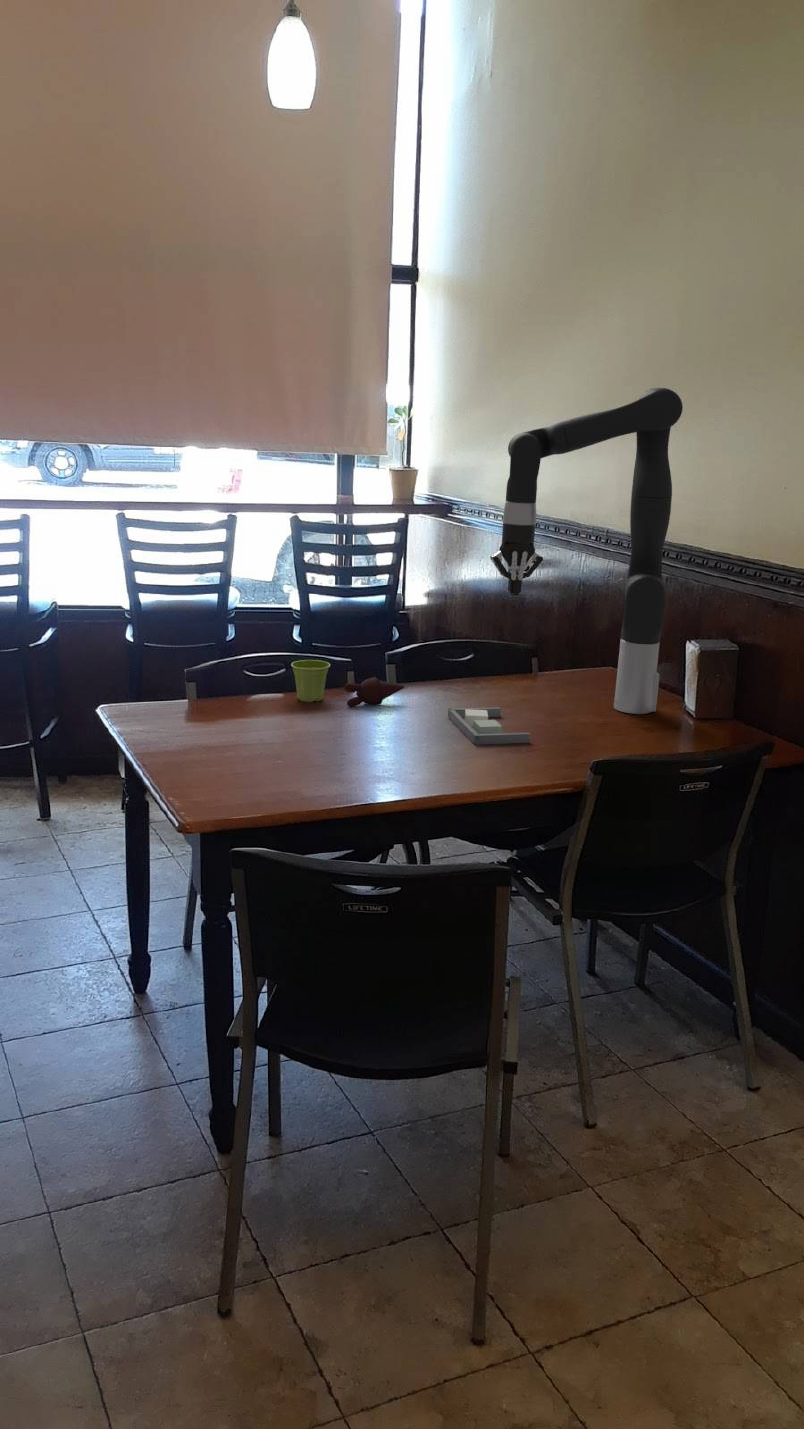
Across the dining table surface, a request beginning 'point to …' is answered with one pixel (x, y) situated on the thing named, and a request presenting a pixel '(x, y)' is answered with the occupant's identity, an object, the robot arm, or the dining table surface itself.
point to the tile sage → (487, 727)
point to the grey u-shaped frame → (476, 738)
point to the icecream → (371, 691)
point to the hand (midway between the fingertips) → (513, 595)
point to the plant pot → (310, 679)
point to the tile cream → (475, 715)
